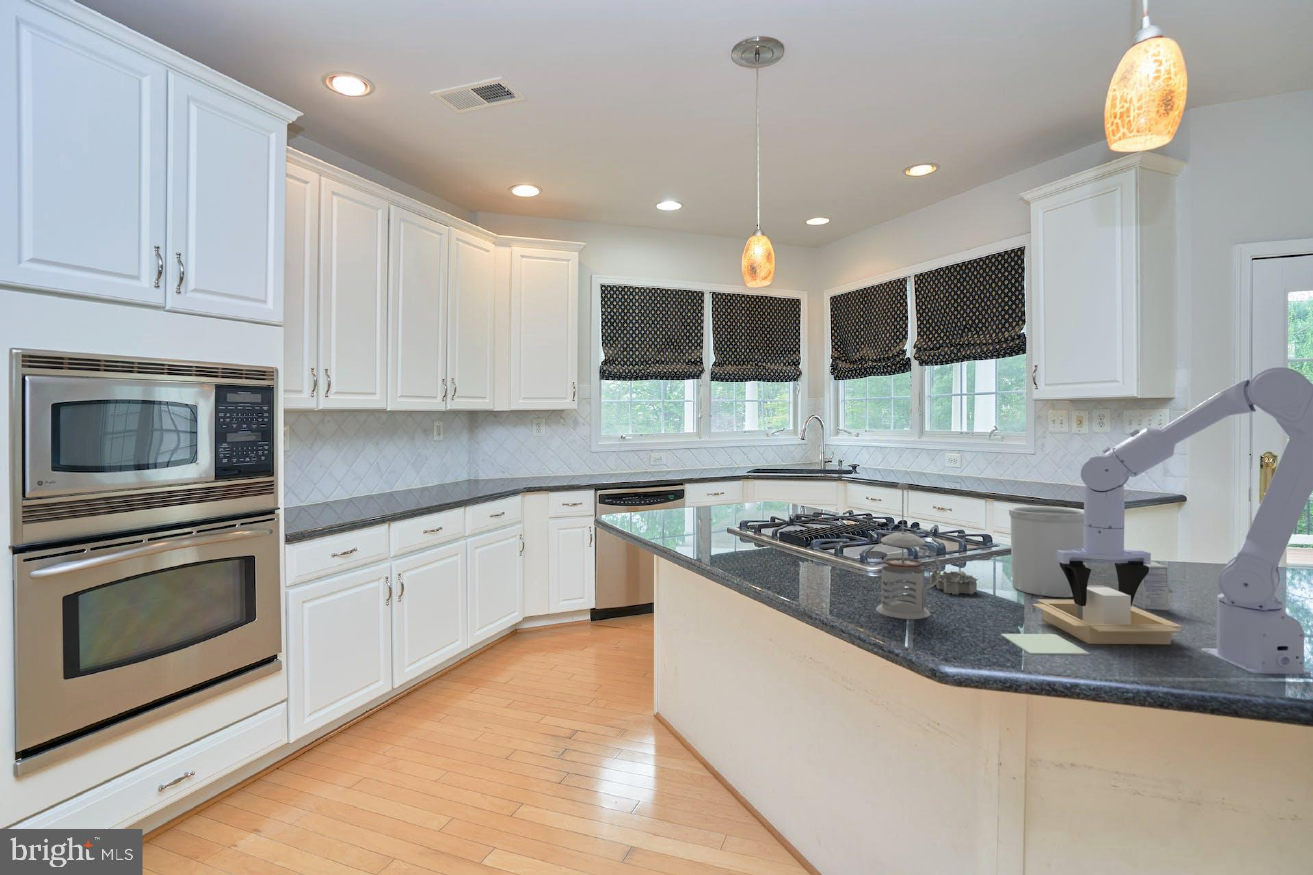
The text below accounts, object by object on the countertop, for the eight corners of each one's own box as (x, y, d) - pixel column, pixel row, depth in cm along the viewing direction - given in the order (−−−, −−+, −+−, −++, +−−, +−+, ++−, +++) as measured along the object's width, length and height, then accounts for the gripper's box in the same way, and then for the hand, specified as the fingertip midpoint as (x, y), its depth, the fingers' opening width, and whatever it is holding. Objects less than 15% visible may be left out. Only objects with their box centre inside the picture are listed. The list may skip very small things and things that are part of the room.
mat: (1089, 656, 99) (1089, 653, 99) (1030, 656, 99) (1030, 652, 99) (1055, 637, 108) (1055, 633, 108) (1000, 637, 108) (1000, 633, 108)
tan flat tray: (1196, 651, 100) (1196, 630, 100) (1085, 651, 101) (1085, 629, 101) (1117, 617, 118) (1117, 599, 118) (1024, 616, 119) (1024, 598, 119)
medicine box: (1169, 612, 122) (1169, 567, 121) (1142, 610, 123) (1143, 566, 122) (1146, 600, 129) (1146, 558, 129) (1121, 599, 130) (1121, 557, 130)
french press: (881, 601, 130) (881, 479, 129) (943, 609, 124) (944, 481, 124) (870, 614, 122) (870, 483, 121) (936, 623, 116) (937, 486, 115)
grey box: (1130, 637, 106) (1130, 595, 106) (1103, 637, 106) (1103, 595, 106) (1102, 624, 113) (1102, 585, 113) (1077, 624, 113) (1077, 585, 113)
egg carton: (926, 583, 146) (926, 565, 146) (959, 583, 145) (959, 565, 145) (945, 595, 135) (945, 576, 135) (981, 595, 135) (981, 576, 135)
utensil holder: (993, 585, 143) (993, 507, 142) (1041, 578, 148) (1041, 503, 148) (1054, 601, 129) (1055, 515, 129) (1105, 594, 134) (1106, 511, 134)
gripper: (1130, 522, 113) (1129, 598, 113) (1047, 522, 114) (1046, 597, 114) (1160, 529, 106) (1159, 610, 106) (1071, 528, 107) (1070, 609, 107)
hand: (1102, 604), depth 110 cm, fingers open, 7 cm apart
